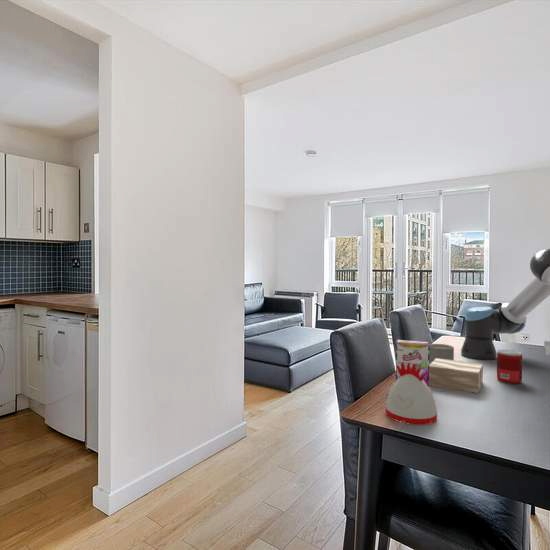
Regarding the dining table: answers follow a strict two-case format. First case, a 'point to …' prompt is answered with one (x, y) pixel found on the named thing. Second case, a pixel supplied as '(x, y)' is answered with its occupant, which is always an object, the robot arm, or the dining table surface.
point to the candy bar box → (413, 357)
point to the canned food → (509, 366)
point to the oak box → (456, 375)
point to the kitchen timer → (411, 398)
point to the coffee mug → (441, 352)
